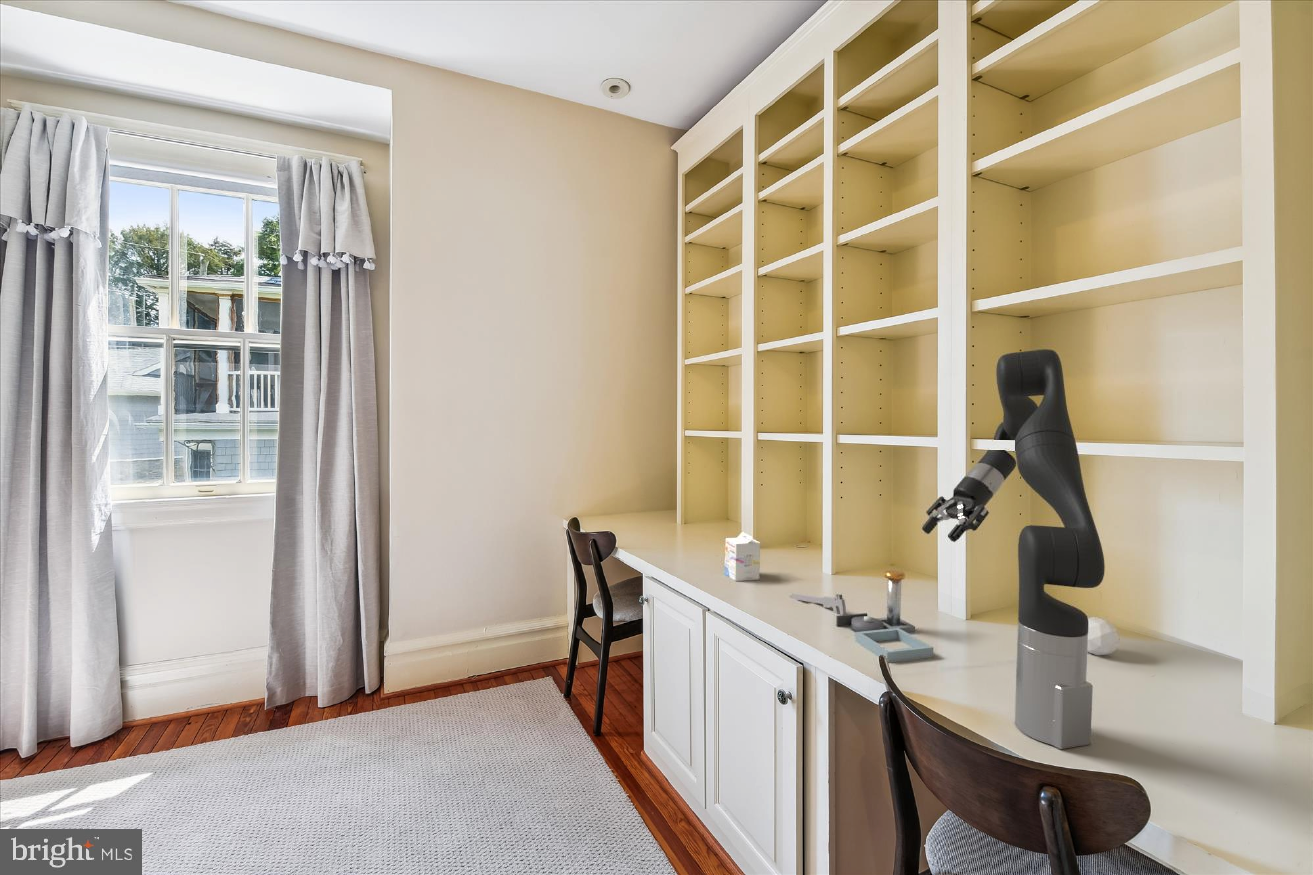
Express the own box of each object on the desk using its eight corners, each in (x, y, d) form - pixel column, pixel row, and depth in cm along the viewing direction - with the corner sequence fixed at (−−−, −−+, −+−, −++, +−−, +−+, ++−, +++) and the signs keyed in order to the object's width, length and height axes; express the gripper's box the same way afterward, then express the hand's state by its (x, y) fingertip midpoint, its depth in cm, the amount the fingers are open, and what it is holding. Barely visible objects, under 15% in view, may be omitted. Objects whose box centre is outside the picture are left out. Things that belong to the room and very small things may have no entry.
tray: (933, 661, 117) (933, 647, 117) (886, 667, 115) (887, 652, 115) (898, 640, 128) (898, 627, 128) (855, 645, 125) (855, 632, 125)
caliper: (845, 620, 141) (846, 595, 141) (842, 621, 141) (843, 596, 141) (791, 596, 160) (792, 574, 159) (788, 597, 159) (789, 575, 159)
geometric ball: (1103, 669, 120) (1110, 648, 116) (1063, 644, 126) (1068, 623, 122) (1123, 648, 123) (1131, 626, 118) (1083, 624, 129) (1089, 602, 124)
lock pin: (907, 630, 132) (909, 574, 131) (891, 631, 131) (892, 576, 130) (895, 623, 136) (896, 569, 136) (879, 624, 135) (880, 570, 135)
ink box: (723, 574, 181) (724, 532, 181) (747, 572, 184) (748, 531, 183) (735, 581, 173) (736, 538, 172) (760, 579, 175) (760, 536, 175)
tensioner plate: (919, 637, 130) (919, 620, 130) (857, 644, 126) (858, 626, 126) (893, 623, 139) (894, 607, 139) (835, 629, 135) (835, 612, 135)
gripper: (948, 472, 144) (908, 519, 142) (994, 479, 130) (950, 531, 128) (964, 492, 146) (925, 539, 143) (1012, 501, 132) (969, 552, 129)
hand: (937, 535), depth 136 cm, fingers open, 8 cm apart
